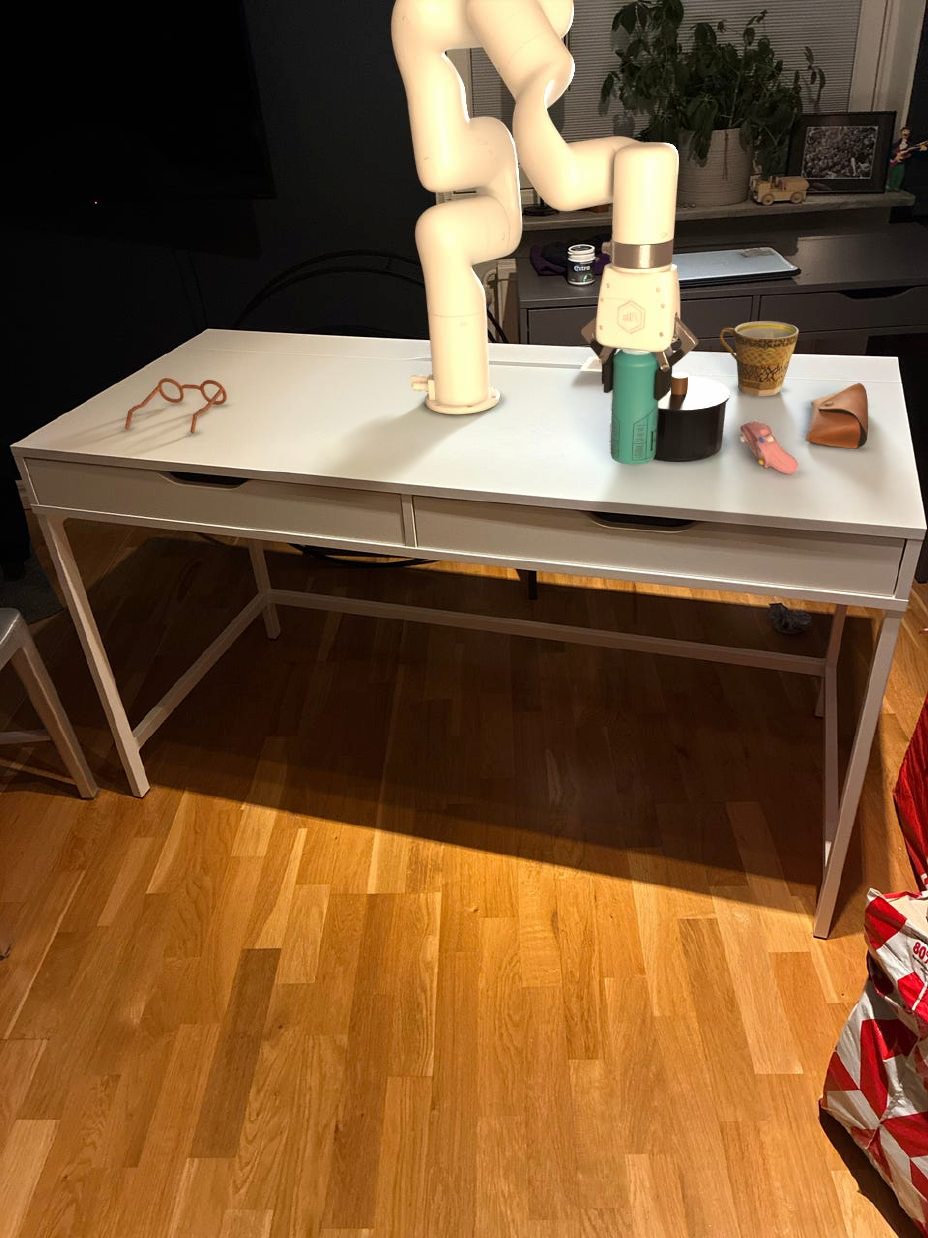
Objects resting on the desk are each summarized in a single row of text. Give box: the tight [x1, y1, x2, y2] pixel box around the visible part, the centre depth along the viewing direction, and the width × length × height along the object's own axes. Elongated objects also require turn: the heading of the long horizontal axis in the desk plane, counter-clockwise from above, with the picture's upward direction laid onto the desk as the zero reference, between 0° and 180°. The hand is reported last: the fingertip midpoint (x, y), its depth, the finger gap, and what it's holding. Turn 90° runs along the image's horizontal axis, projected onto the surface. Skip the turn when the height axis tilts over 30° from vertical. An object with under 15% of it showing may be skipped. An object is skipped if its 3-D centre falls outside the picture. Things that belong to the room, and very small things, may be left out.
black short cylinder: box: [652, 402, 727, 463], centre depth 138 cm, size 13×13×8 cm
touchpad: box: [579, 356, 602, 373], centre depth 168 cm, size 8×15×2 cm, turn 70°
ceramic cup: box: [719, 320, 800, 397], centre depth 155 cm, size 13×10×10 cm
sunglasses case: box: [805, 382, 869, 450], centre depth 142 cm, size 18×7×7 cm
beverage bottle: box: [609, 348, 659, 466], centre depth 127 cm, size 6×7×20 cm
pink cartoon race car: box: [739, 418, 799, 475], centre depth 131 cm, size 10×5×7 cm, turn 5°
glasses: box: [124, 377, 228, 434], centre depth 160 cm, size 13×13×5 cm
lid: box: [658, 372, 731, 413], centre depth 135 cm, size 14×14×4 cm
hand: (635, 392), depth 126 cm, fingers closed on beverage bottle, 6 cm apart
